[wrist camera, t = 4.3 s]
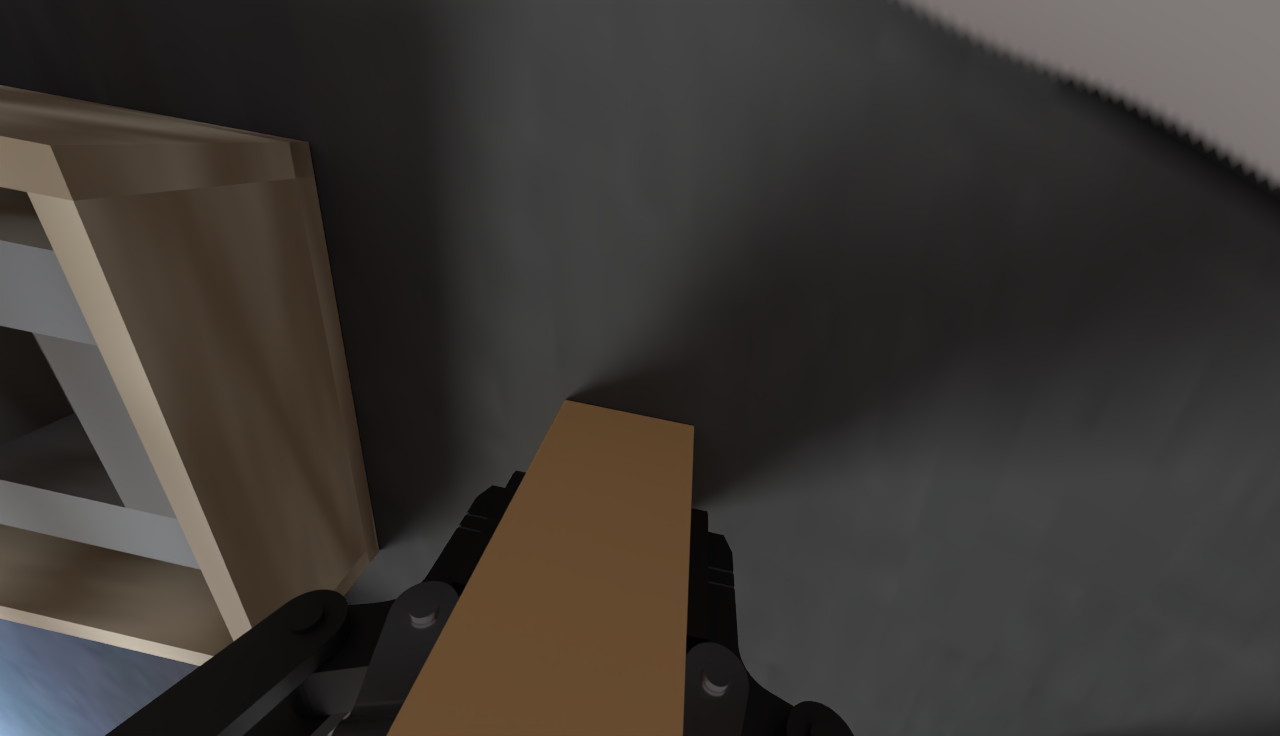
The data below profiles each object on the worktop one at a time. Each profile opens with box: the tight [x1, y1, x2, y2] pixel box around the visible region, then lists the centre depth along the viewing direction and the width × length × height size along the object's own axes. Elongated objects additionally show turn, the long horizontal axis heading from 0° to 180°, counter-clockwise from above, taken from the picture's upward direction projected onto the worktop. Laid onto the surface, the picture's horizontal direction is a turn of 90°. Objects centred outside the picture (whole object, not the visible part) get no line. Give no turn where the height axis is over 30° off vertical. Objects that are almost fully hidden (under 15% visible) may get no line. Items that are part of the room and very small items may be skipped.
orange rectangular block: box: [387, 400, 694, 736], centre depth 11 cm, size 4×4×9 cm
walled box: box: [0, 85, 379, 666], centre depth 13 cm, size 15×15×5 cm
